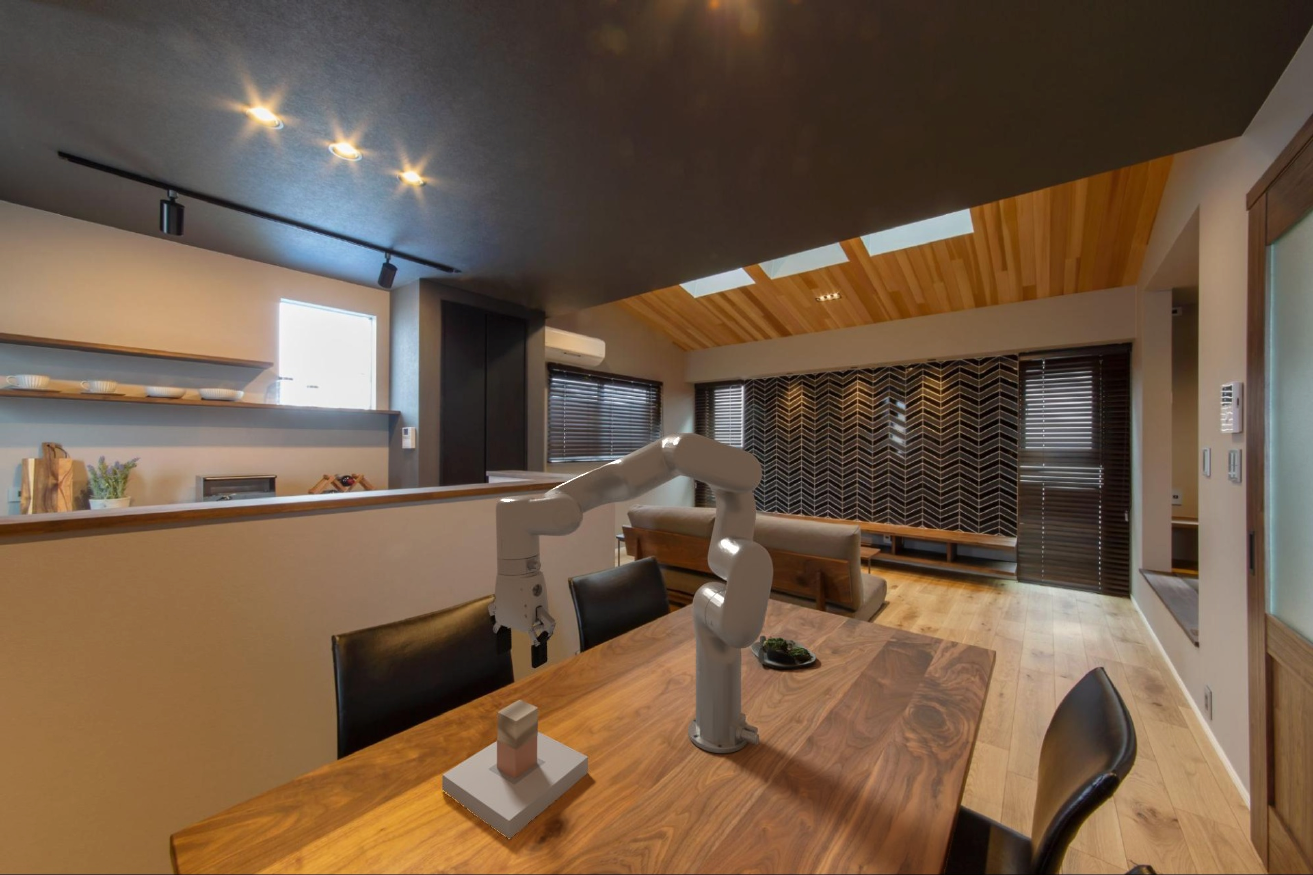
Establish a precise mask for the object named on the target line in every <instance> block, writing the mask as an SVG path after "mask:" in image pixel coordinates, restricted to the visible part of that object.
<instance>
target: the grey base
mask: <svg viewBox="0 0 1313 875" xmlns="http://www.w3.org/2000/svg"><path fill="white" fill-rule="evenodd" d="M588 773H589V756H587V755H586V754H583V753H581V752H580V751H577V750H575V749H573V748H572V747H570V746H567V745H565V744H564V743H562V742H560V741H557V740H556V739H554V738H552V737H550V736H548V735H546V734H543V733H542V732H539V731H538V735H537V763H536V764H535V765H533V766H532V767H531V768H529V769H528V770H526V771H525V772H524V773H522V774H521V775H520V776H518V777H517V778H516V779H515V778H513V777H512V776H510V775H508V774H507V773H505V772H503V771H502V770H500V769H498V768H497V740H496V741H495V742H493V743H491V744H489V745H488V746H486V747H485V748H483V749H482V750H480V751H478V752H476V753H474V755H471V756H470V757H468V758H467V759H465V760H463V761H462V762H460V763H459V764H458V765H457V764H456V766H454V767H452V768H451V769H449V770H448V771H446V772H445V773H443V774H442V780H441V781H442V784H441V786H442V787H441V788H442V789H441V791H442V790H444V791H445V792H447V794H449V795H450V796H451V797H453V798H454V799H456V800H457V801H458V802H459V803H460V804H462V805H464V807H466V808H468V809H469V810H470V811H471V812H473V814H472V815H474V814H475V815H477V816H478V817H479V818H481V819H482V820H484V821H485V822H487V823H488V824H489V825H491V826H492V827H493V828H495V829H496V830H498V831H499V832H500V833H502V834H504V835H505V836H506V837H507V838H511V837H512V836H513V835H515V834H516V833H517V832H518V831H519V832H520V831H522V830H523V829H524V828H526V826H528V825H529V824H530V823H531V822H532V821H533V820H535V819H536V818H537V817H538V816H539V815H540V814H542V812H544V811H545V810H547V808H549V807H550V806H551V805H552V804H553V803H554V802H556V801H555V800H558V799H560V797H561V796H563V795H564V794H565V793H566V792H567V791H569V790H570V789H571V788H572V787H573V786H574V785H576V783H578V782H579V781H580V780H581V779H583V778H584V777H585V776H586V775H588ZM460 804H459V805H460ZM549 805H550V806H549ZM548 806H549V807H548ZM464 807H463V808H464ZM471 812H470V813H471ZM475 815H474V816H475ZM536 816H537V817H536ZM478 817H477V818H478ZM535 817H536V818H535ZM479 818H478V819H479ZM482 820H481V821H482ZM531 820H532V821H531ZM530 821H531V822H530ZM485 822H484V823H485ZM529 822H530V823H529ZM528 823H529V824H528ZM489 825H488V826H489ZM493 828H492V829H493ZM521 829H522V830H521ZM496 830H495V831H496ZM519 832H518V833H519ZM500 833H499V834H500ZM518 833H517V834H518ZM517 834H516V835H517ZM516 835H515V836H516ZM513 837H514V836H513ZM513 837H512V838H513ZM507 838H506V839H507ZM512 838H511V839H512Z"/></svg>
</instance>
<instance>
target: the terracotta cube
mask: <svg viewBox="0 0 1313 875" xmlns="http://www.w3.org/2000/svg"><path fill="white" fill-rule="evenodd" d="M496 741H497V768H498V769H500V770H502V771H503V772H505V773H507V774H508V775H510V776H512V777H513V778H515V779H516V778H517V777H518V776H520V775H521V774H522V773H524V772H525V771H526V770H528V769H529V768H531V767H532V766H533V765H535V764H536V763H537V736H536V737H534V738H533V739H531V740H530V741H528V742H527V743H526V744H524V745H523V746H521V747H520V748H518V749H517V750H515V749H513V748H511V747H510V746H508V745H506V744H504V743H502V742H500V741H498V740H497V739H496Z"/></svg>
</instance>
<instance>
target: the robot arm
mask: <svg viewBox="0 0 1313 875" xmlns="http://www.w3.org/2000/svg"><path fill="white" fill-rule="evenodd" d="M680 476H682V477H686V478H687V477H688V478H689V479H693V480H696V481H698V482H701V483H704V484H706V485H707V486H708V487H709V489H710V490H711V492H712V494H713V496H714V499H715V504H716V505H715V506H716V507H715V508H716V511H715V517H714V518H715V519H714V524H713V528H712V532H711V537H710V538H711V539H710V543H709V548H708V552H707V563H708V567H709V569H710V570H711V571H712V572H713V573H714V574H715V575H716V576H717V577H719V578H721V579H722V580H724V581H726V584H725V583H722V582H718V581H710V582H707V583H704V584H703V585H701V586H700V587H699V588H698V589H697V590H696V591H695V594H694V596H693V598H692V605H691V606H692V607H691V609H692V610H691V612H692V613H691V614H692V620H693V627H694V628H693V629H694V635H695V717H694V718H692V719H691V721H690V722H689V724H688V727H687V730H688V734H687V735H688V738H689V739H690V741H692V743H693V744H694V745H695V746H697V747H698V748H700V749H702V750H703V751H706V752H710V753H715V754H730V753H731V754H732V753H734V752H737V751H740V750H741V749H743V748H744V747H745V746H746V745H747V743H750V744H752V745H755V746H758V744H759V741H760V735H759V733H758V729H759V728H758V727H757V726H755V725H750V724H748V723H747V722H746V719H747V718H746V714H744V713H742V649H745V648H748V647H751V645H752V644H753V643H756V641H757V640H758V639H759V638H760V636H761V633H762V631H763V629H764V625H765V624H764V623H765V621H766V615H767V610H768V606H769V601H770V600H769V599H770V595H771V590H772V589H771V588H772V584H773V578H774V566H773V559H772V557H771V555H770V553H769V552H768V550H767V549H766V547H764V546H763V545H761V544H760V543H758V542H755V541H754V532H755V526H756V518H757V504H756V503H757V502H756V499H755V496H754V493H753V491H754V490H755V489H757V487H758V486H759V484H760V483H761V481H762V477H763V469H762V466H761V463H760V461H759V460H758V458H757V457H756V456H755V455H753V453H751V452H749V451H747V450H743V449H741V448H739V447H735V446H732V445H730V444H726V443H724V442H721V441H718V440H716V439H712V438H710V437H707V436H704V435H701V434H698V433H694V432H682V433H681V432H677V433H671V434H668V435H665V436H664V437H661V438H658V439H657V440H655V441H653V442H650V443H649V444H647V445H645V446H642V447H641V448H639V449H637V450H635V451H632V452H631V453H628V454H626V455H624V456H622V457H620V458H618V459H616V460H613V461H612V462H609V463H606V464H604V465H602V466H599V467H598V468H595V469H592V470H591V471H588V472H586V473H583V474H580V475H579V476H577V477H574V478H572V479H570V480H568V481H566V482H564V483H562V484H559V485H557V486H556V487H554V488H552V489H550V490H548V491H547V492H545V493H544V494H542V495H541V497H540V498H535V497H534V496H529V495H527V496H526V495H517V496H516V495H515V496H507V497H503V498H500V499H499V500H498V501H497V502H496V504H495V533H496V534H495V535H496V567H497V568H496V569H497V571H496V576H495V577H496V578H495V586H494V601H493V602H492V603H489V604H488V605H487V610H488V612H489V616H490V617H489V620H490V622H491V624H492V626H493V628H492V631H493V633H495V636H494V637H495V655H496V656H497V655H498V656H501V655H502V654H505V653H507V652H510V650H512V648H513V646H512V644H513V643H512V642H513V641H512V630H516V631H519V632H522V633H526V634H528V635H529V636H528V637H530V640H531V642H532V643H533V644H531V646H530V655H531V656H530V659H531V662H530V663H531V664H530V666H531V668H533V669H538V668H539V667H541V666H542V665H544V664H546V663H547V662H548V659H549V658H548V642H549V641H550V638H551V637H553V635H554V631H555V628H556V624H557V621H556V619H554V617H552V616H551V615H550V613H549V598H548V592H547V583H546V580H545V575H544V572H543V571H541V567H542V563H541V559H540V558H541V553H540V552H541V551H540V536H547V537H566V536H568V535H572V534H574V533H575V532H576V531H578V529H579V528H580V527H581V526H582V523H583V520H584V513H587V512H589V511H591V510H593V509H595V508H598V507H601V506H604V505H608V504H612V503H622V502H623V503H624V502H628V501H632V500H635V499H637V498H640V497H642V496H644V495H645V494H647V493H649V492H650V491H653V490H654V489H656V488H658V487H661V486H662V485H664V484H666V483H669V482H670V481H672V480H674V479H676V478H678V477H680ZM536 631H538V632H539V635H538V634H537V632H536Z"/></svg>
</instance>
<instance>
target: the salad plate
mask: <svg viewBox="0 0 1313 875" xmlns="http://www.w3.org/2000/svg"><path fill="white" fill-rule="evenodd" d="M750 650H751V652H752V653H753V654H754V655H755V657H757V661H758V663H760V664H763V665H764V666H765V667H767V668H771V669H772V670H778V671H794V670H803V669H808V668H811V667H812V666H813V665H815V664H816V662H817V655H816V654H815V653H813V652H812V651H811V650H809V649H808V648H806V647H805V646H804V645H803V644H802V643H800V642H799V641H796V640H793V639H792V640H791V639H786V638H785V639H784V638H783V637H772V636H769V638H766V636H765V635H759V641H757V642H756V641H755V642H754V643H753V644H752V645H751V646H750Z"/></svg>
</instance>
